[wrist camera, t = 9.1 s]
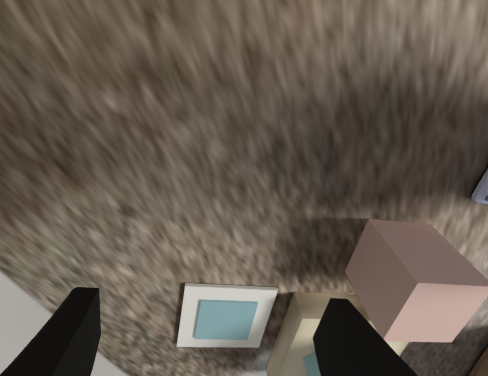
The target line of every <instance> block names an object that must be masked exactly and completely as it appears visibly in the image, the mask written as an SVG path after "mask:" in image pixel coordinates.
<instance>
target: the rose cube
mask: <svg viewBox="0 0 488 376" xmlns="http://www.w3.org/2000/svg"><path fill="white" fill-rule="evenodd" d="M345 273H346V274H347V276H348V278H349V280H350V282H351V284H352V286H353V288H354V289H355V291H356V293H357V295H358V297H359V299H360V301H361V303H362V305H363V306H364V308H365V310H366V312H367V314H368V316H369V318H370V320H371V321H372V323H373V325H374V327H375V329H376V331H377V332H378V333H379V335H380V336H381V337H382V338H383V339H384V340H385V341H392V342H452V341H453V340H454V338H455V337H456V336H457V335H458V333H459V332H460V331H461V329H462V328H463V327H464V326H465V324H466V323H467V322H468V320H469V319H470V318H471V317H472V315H473V314H474V313H475V311H476V310H477V309H478V308H479V306H480V305H481V304H482V302H483V301H484V300H485V299H486V297H487V296H488V280H487V279H486V278H485V277H484V276H483V275H482V274H481V273H480V272H479V271H478V270H477V269H476V268H475V267H474V266H473V265H472V264H471V263H469V262H468V261H467V260H466V259H465V258H464V257H463V256H462V255H461V254H460V253H459V252H458V251H457V250H456V249H455V248H454V247H453V246H452V245H451V244H450V243H449V242H448V241H447V240H446V239H445V238H444V237H443V236H442V235H441V234H440V233H439V232H438V231H437V230H436V229H435V228H434V227H433V226H432V225H429V224H419V223H408V222H398V221H387V220H377V219H368V222H367V224H366V226H365V228H364V230H363V233H362V235H361V237H360V239H359V241H358V244H357V246H356V248H355V250H354V252H353V255H352V257H351V259H350V261H349V263H348V266H347V268H346V270H345Z"/></svg>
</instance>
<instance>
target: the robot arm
mask: <svg viewBox="0 0 488 376" xmlns="http://www.w3.org/2000/svg"><path fill="white" fill-rule="evenodd" d="M471 198H472V200H473V201H475V202H476V203H482V204H488V169H487V171H486V172H485V174H484V176H483V177H482V179H481V181H480V182H479V184H478V185H477V187H476V189H475V190H474V192H473V194H472V196H471ZM100 336H101V325H100V299H99V288H86V287H76V288H74V289H73V290H72V291H71V292H70V294H69V295H68V296H67V298H66V299H65V300H64V302H63V303H62V304H61V305H60V307H59V308H58V309H57V310H56V312H55V313H54V314H53V315H52V317H51V318H50V319H49V320H48V322H47V323H46V324H45V325H44V326H43V327H42V329H41V330H40V331H39V332H38V333H37V335H36V336H35V337H34V338H33V339H32V340H31V341H30V342H29V344H28V345H27V346H26V347H25V348H24V350H23V351H22V352H21V353H20V354H19V355H18V356H17V357H16V358H15V360H14V361H13V362H12V363H11V364H10V365H9V366H8V367H7V368H6V369H5V370H4V371H3V372H2V373H1V374H0V376H90V375H91V372H92V369H93V365H94V361H95V357H96V352H97V348H98V344H99V340H100ZM313 343H314V348H315V353H316V358H317V362H318V367H319V371H320V374H321V376H417V374H416V373H415V372H414V371H413V370H412V369H411V368H410V367H409V366H408V365H407V364H406V363H405V362H404V361H403V360H402V359H401V358H400V357H399V355H398V354H397V353H396V352H395V351H394V350H393V349H392V348H391V347H390V346H389V345H388V343H387V342H386V341H385V340H384V339H383V338H382V337H381V336H380V335H379V333H378V332H377V331H376V330H375V329H374V328H373V327H372V326H371V324H370V323H369V322H368V321H367V320H366V319H365V318H364V316H363V315H362V314H361V313H360V312H359V311H358V310H357V309H356V308H355V306H354V305H353V304H352V303H351V302H350V301H349V300H348V299H343V298H330V300H329V302H328V304H327V307H326V309H325V311H324V313H323V316H322V318H321V320H320V322H319V325H318V327H317V329H316V331H315V333H314V336H313Z"/></svg>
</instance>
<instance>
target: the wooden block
mask: <svg viewBox="0 0 488 376" xmlns="http://www.w3.org/2000/svg"><path fill="white" fill-rule="evenodd" d="M468 376H488V347H487V348H486V350H485V351H484V353H483V354H482V356H481V357H480V359H479V360H478V362H477V363H476V365H475V366H474V368H473V369H472V371H471V372H470V374H469V375H468Z"/></svg>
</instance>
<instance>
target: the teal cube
mask: <svg viewBox="0 0 488 376" xmlns="http://www.w3.org/2000/svg"><path fill="white" fill-rule="evenodd" d="M303 361H304V365H305V368H306V372H307V375H308V376H321V374H320V371H319V367H318V362H317V358H316V353H315V354H312V355H310V356H308V357H305V358H303Z"/></svg>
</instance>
